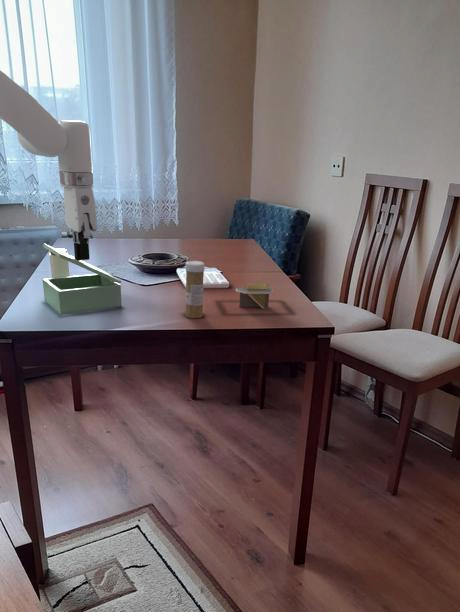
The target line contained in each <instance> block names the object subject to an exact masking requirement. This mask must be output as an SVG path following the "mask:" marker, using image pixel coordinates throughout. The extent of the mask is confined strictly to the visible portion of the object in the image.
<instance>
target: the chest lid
mask: <svg viewBox="0 0 460 612" xmlns="http://www.w3.org/2000/svg"><path fill="white" fill-rule="evenodd" d="M42 247H43V248H44V249H46V250H47V251H49V253H50V252H52V253H54V254H55V255H57V256H58V257H60V258H62V259H65V260H67V261H68V262H69V263H71V264H74V265H76V266H78V267H80V268H82V269H84V270H86V271H89V272H91V273H93V274H98V275H100V276H102V277H105V278H107V279H109V280H111V281H114V282H116V283H118V284H120V285H121V283H122V280H120V279H118V278H117V277H116V276H113V275H112V274H111V273H108V272H107V271H105V270H103V269H101V268H99V267H96V266H95V265H92V264H90V263H88V262H86V261H85V260H77V259H75V256H73V255H70V254H68V253H67V254H66V253H64V252H62V251H60V250H57V249H58V248H55V247H53V246H51V245H49V244H47V243H43V244H42Z"/></svg>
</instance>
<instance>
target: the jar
mask: <svg viewBox="0 0 460 612" xmlns="http://www.w3.org/2000/svg"><path fill="white" fill-rule="evenodd" d="M56 249H57V250H60V251H62V252H64V253H66V254H68V250H67V249H65V248H56ZM49 264H50V274H51V278H59V277H69V276H71V275H70V273H71V272H70V262H69V261H67V260H65V259H62V258H60V257H58V256H57V255H55V254H54V253H52V252H50V251H49Z"/></svg>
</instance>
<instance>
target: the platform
mask: <svg viewBox="0 0 460 612" xmlns="http://www.w3.org/2000/svg"><path fill="white" fill-rule="evenodd" d="M245 285H246V287H236V288H235V291H236V292H237V293H239V301H238V302H239V304H238V308H261V309H263V310H264V309H266V308H268V307H269V300H270V299H269V298H270V295H271V294H273V292H274V288H273V287H269V284H268V283H267V282H266V283H264V282H262V283H261V282H246V283H245Z"/></svg>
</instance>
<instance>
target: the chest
mask: <svg viewBox="0 0 460 612" xmlns="http://www.w3.org/2000/svg"><path fill="white" fill-rule="evenodd" d="M42 287H43V288H42V289H43V298H44V301H45V302H46V303H47V304H48V305H49V306H50V307H52V309H54V310H55V311H56V312H57V313H59V314H60V315H64V314H72V313H80V312H87V311H88V312H89V311H95V310H103V309H110V308H111V309H112V308H119V307H123V305H122V285H121V283H120V284H118V283H116V282H114V281H111V280H109V279H107V278H105V277H102V276H100V275H98V274H96V273H92V274H91V273H89V274H80V275H70V276H69V277H59V278H52V277H49V278H42Z"/></svg>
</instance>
